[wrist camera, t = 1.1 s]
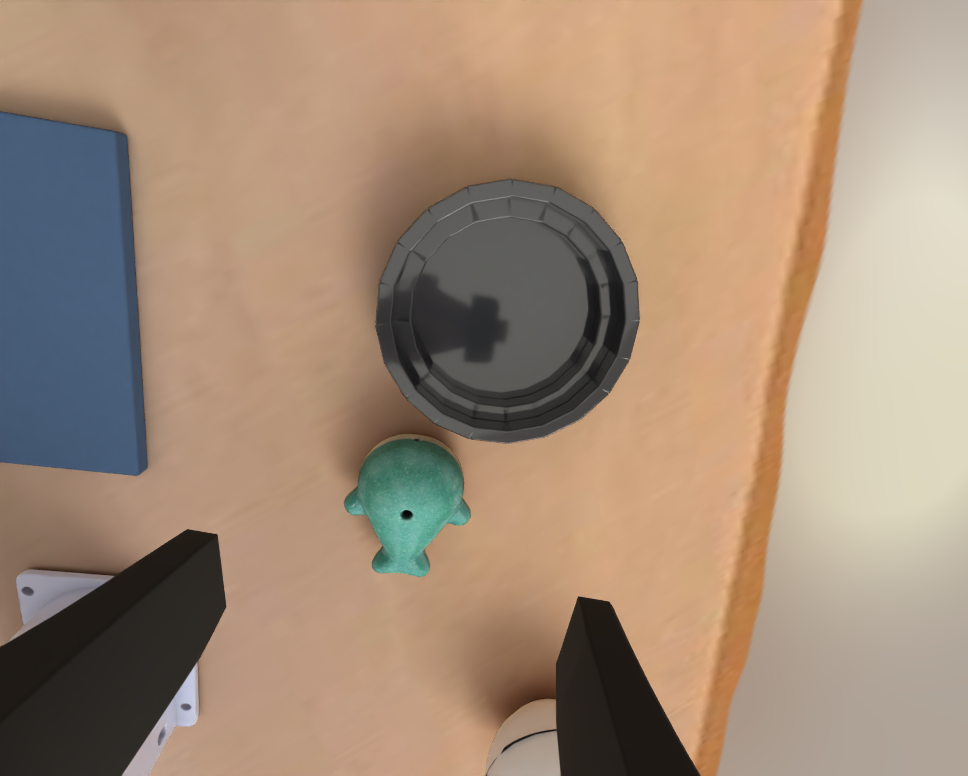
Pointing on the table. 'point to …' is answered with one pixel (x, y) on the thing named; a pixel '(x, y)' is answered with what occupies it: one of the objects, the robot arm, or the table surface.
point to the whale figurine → (408, 499)
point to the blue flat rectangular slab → (68, 300)
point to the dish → (507, 311)
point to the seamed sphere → (526, 743)
